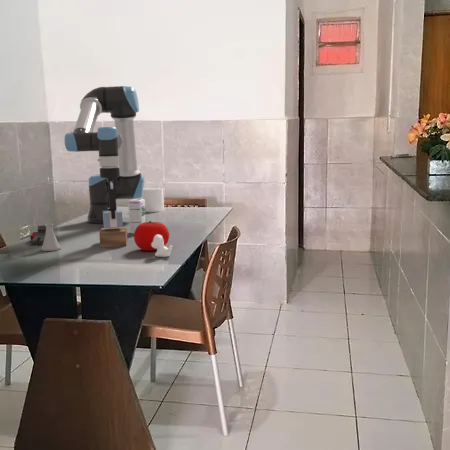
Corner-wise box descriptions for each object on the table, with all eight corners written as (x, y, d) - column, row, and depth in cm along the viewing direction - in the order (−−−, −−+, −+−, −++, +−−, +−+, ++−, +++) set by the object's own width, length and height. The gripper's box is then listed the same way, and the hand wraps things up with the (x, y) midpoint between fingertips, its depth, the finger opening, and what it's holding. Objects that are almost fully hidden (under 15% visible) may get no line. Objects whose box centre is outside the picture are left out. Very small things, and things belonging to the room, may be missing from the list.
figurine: (153, 254, 202) (152, 233, 201) (175, 254, 201) (174, 232, 200) (150, 258, 197) (149, 236, 196) (172, 258, 196) (171, 236, 195)
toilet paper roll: (162, 212, 298) (161, 189, 296) (140, 212, 298) (139, 190, 296) (165, 208, 309) (164, 187, 307) (144, 209, 310) (143, 187, 307)
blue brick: (103, 225, 223) (102, 210, 222) (121, 224, 225) (120, 209, 224) (104, 228, 216) (103, 213, 215) (122, 227, 218) (121, 211, 217)
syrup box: (142, 233, 241) (140, 200, 238) (129, 233, 242) (127, 200, 239) (147, 231, 246) (145, 198, 243) (134, 231, 247) (132, 198, 245)
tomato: (131, 248, 213) (129, 220, 211) (164, 244, 218) (163, 217, 216) (139, 255, 202) (137, 225, 200) (173, 250, 207) (172, 221, 205)
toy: (49, 251, 224) (58, 236, 238) (47, 236, 222) (56, 223, 236) (27, 251, 224) (38, 237, 238) (25, 237, 221) (36, 223, 235)
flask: (43, 247, 218) (41, 222, 216) (62, 247, 219) (60, 221, 217) (39, 252, 211) (37, 226, 209) (58, 251, 212) (56, 225, 210)
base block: (102, 242, 226) (101, 227, 225) (127, 241, 227) (126, 226, 226) (100, 247, 216) (99, 232, 215) (126, 246, 218) (125, 231, 217)
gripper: (98, 165, 225) (101, 221, 229) (100, 169, 206) (104, 230, 210) (117, 165, 227) (120, 220, 231) (121, 168, 208) (124, 228, 212)
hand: (113, 225), depth 220 cm, fingers closed on blue brick, 7 cm apart
